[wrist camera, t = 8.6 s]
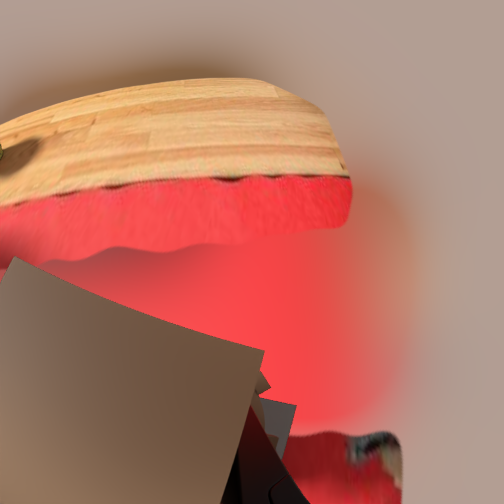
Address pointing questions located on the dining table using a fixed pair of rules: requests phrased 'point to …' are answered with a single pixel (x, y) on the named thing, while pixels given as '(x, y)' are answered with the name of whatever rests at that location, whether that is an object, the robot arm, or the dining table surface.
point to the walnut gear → (114, 400)
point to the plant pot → (1, 151)
